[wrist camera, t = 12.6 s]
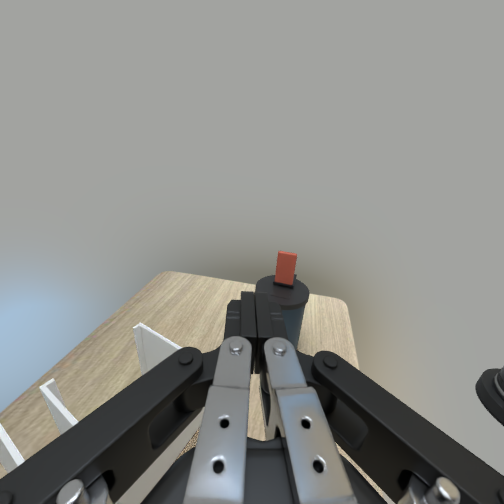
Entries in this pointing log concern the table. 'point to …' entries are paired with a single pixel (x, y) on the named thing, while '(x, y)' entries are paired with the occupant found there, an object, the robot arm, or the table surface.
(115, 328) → the table surface
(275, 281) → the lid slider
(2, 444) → the storage container
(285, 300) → the travel cup
